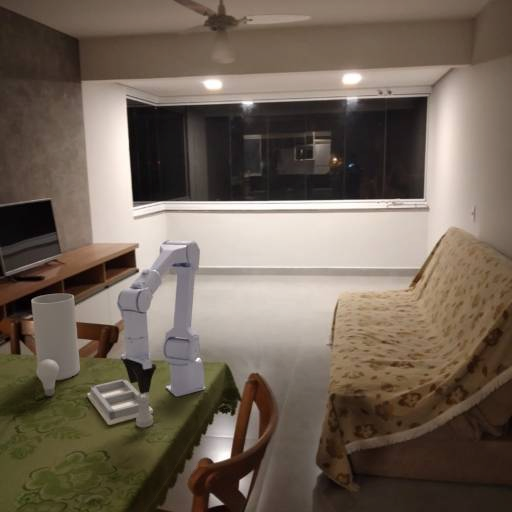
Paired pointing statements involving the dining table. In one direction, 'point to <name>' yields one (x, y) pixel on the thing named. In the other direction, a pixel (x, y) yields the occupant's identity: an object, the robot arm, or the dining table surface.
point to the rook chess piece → (144, 412)
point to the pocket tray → (115, 401)
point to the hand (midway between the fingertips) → (139, 387)
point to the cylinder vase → (56, 332)
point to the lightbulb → (48, 375)
